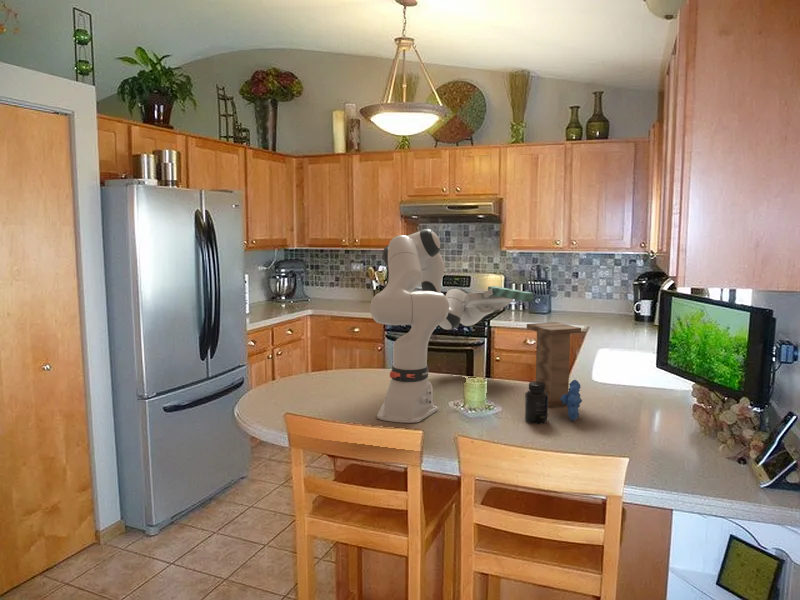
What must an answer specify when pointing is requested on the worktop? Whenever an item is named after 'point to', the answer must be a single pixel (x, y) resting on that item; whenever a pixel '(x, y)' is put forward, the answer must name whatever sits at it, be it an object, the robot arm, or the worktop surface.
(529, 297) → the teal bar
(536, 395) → the supplement bottle
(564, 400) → the grapes
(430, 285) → the robot arm
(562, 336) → the walnut stand
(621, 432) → the worktop surface
